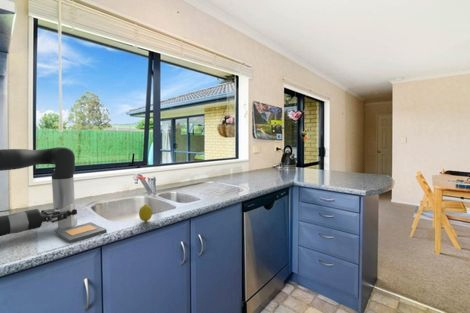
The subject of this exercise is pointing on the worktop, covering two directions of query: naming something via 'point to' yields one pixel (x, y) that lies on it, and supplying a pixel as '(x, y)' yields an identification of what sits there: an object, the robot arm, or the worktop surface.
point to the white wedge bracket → (68, 218)
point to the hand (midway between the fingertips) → (74, 210)
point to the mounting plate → (80, 232)
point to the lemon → (145, 213)
